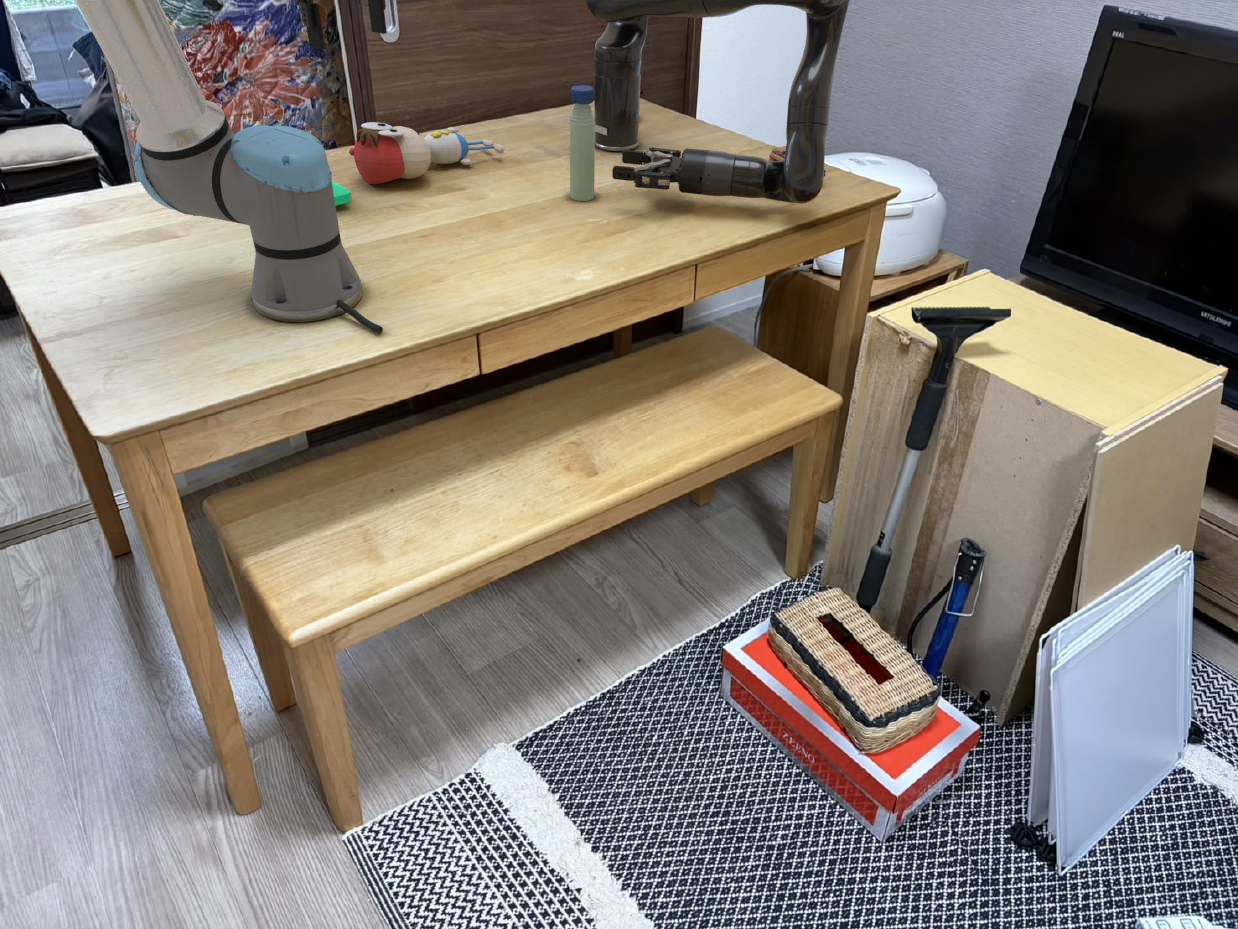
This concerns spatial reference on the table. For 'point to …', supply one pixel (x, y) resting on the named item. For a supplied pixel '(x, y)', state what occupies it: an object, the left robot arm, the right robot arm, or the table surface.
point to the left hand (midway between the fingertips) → (349, 40)
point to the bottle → (582, 153)
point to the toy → (408, 151)
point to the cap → (582, 94)
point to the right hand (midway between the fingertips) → (617, 164)
